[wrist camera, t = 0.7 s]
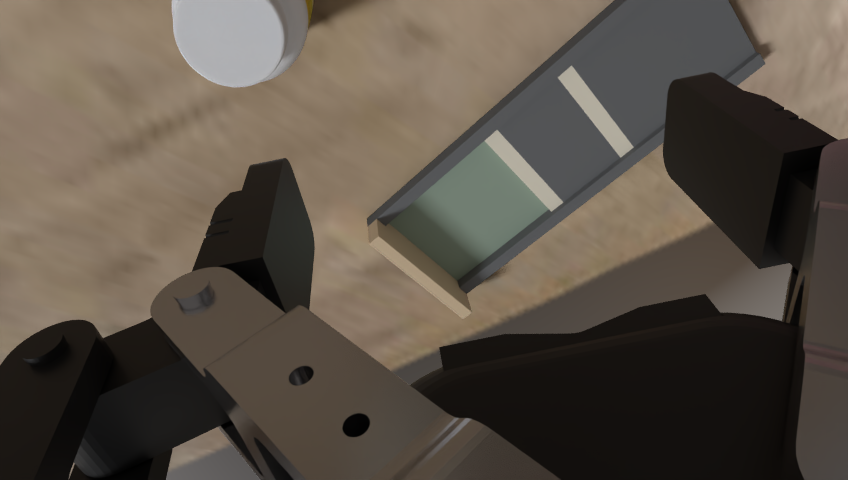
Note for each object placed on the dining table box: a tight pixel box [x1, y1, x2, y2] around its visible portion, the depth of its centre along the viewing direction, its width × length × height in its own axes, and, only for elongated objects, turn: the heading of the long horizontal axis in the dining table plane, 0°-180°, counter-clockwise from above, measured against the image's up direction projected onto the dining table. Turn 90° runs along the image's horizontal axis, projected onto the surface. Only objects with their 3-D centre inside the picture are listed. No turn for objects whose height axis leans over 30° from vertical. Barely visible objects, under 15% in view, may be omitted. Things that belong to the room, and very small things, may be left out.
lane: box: [367, 0, 765, 319], centre depth 35 cm, size 24×9×3 cm, turn 132°
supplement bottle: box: [172, 0, 314, 87], centre depth 25 cm, size 5×5×10 cm
